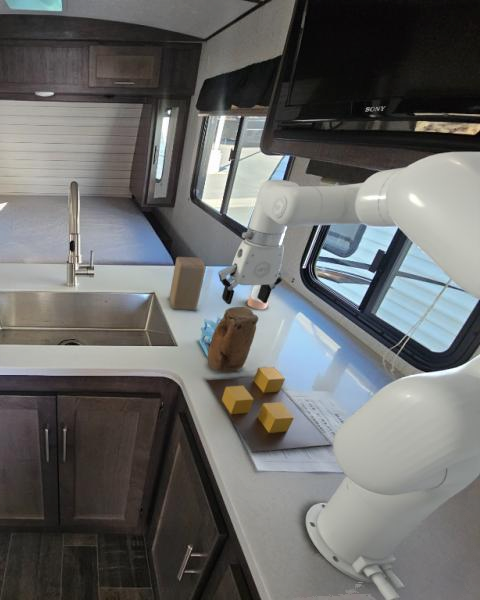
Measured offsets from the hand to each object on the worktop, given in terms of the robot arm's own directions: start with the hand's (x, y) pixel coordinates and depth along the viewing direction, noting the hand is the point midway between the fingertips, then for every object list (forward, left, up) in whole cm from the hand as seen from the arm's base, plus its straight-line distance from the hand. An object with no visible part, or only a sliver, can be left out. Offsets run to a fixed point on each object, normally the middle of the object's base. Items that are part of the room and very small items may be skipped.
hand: (244, 301), depth 83 cm
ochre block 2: (-4, -13, -27) cm, 30 cm away
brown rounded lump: (+6, -5, -28) cm, 29 cm away
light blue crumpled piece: (+15, -5, -28) cm, 32 cm away
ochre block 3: (-17, -6, -27) cm, 32 cm away
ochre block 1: (-10, +1, -27) cm, 29 cm away
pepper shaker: (+42, -39, -28) cm, 64 cm away
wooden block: (+45, -7, -28) cm, 54 cm away
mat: (-12, -6, -28) cm, 31 cm away
